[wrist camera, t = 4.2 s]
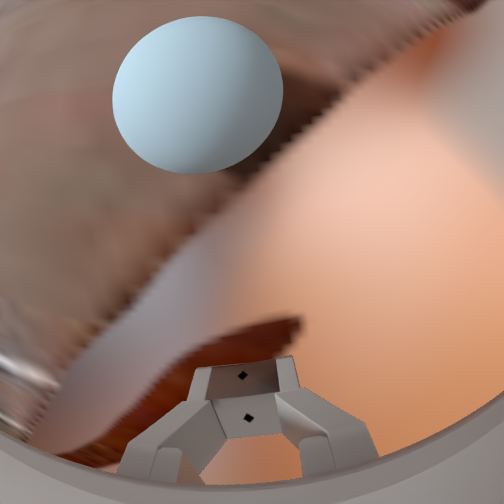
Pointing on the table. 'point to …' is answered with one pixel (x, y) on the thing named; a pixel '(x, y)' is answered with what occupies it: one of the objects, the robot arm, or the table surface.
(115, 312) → the table surface
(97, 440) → the table surface
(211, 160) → the ball
